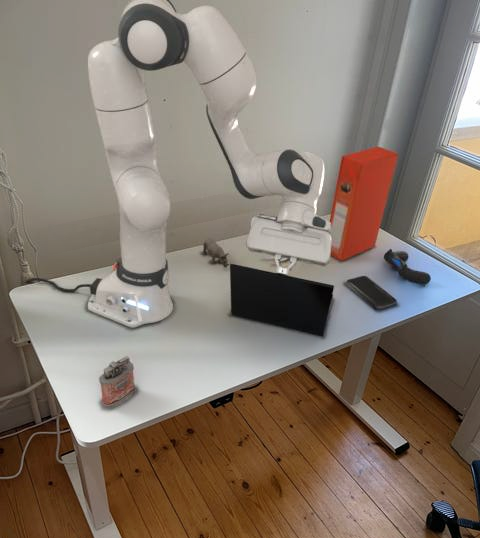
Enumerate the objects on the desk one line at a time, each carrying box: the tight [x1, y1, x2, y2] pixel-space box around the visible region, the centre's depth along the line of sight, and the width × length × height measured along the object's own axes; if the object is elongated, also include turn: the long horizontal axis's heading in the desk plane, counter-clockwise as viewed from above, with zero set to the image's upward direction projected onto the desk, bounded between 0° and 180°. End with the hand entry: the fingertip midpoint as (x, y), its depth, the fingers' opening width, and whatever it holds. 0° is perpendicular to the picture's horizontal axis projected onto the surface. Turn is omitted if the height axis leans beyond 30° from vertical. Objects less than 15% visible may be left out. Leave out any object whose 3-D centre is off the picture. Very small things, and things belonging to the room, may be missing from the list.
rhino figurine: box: [201, 237, 230, 268], centre depth 155 cm, size 4×14×6 cm, turn 33°
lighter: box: [98, 355, 136, 409], centre depth 107 cm, size 8×3×10 cm, turn 138°
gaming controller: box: [383, 248, 432, 286], centre depth 158 cm, size 17×6×10 cm
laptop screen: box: [229, 263, 335, 334], centre depth 125 cm, size 18×25×1 cm
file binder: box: [329, 146, 399, 262], centre depth 160 cm, size 8×17×32 cm, turn 131°
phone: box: [345, 275, 398, 311], centre depth 149 cm, size 8×1×15 cm
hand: (281, 275), depth 119 cm, fingers closed, pressing on laptop screen
